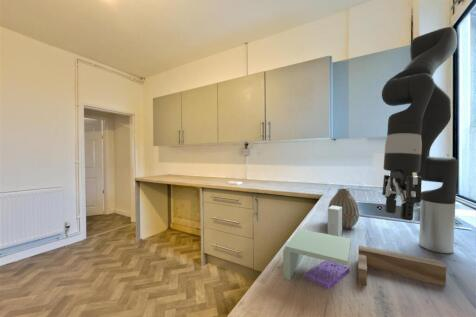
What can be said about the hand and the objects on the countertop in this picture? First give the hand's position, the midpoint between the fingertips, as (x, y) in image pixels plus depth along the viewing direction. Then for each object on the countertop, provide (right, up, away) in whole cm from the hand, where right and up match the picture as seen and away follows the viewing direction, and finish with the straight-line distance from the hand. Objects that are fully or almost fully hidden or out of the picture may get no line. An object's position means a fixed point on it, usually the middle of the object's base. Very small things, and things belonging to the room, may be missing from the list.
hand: (397, 216), depth 55 cm
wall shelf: (-17, -19, +7) cm, 26 cm away
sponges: (-15, -19, +7) cm, 25 cm away
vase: (+8, -17, +45) cm, 49 cm away
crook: (+3, -19, +4) cm, 19 cm away
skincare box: (-1, -18, +34) cm, 38 cm away
